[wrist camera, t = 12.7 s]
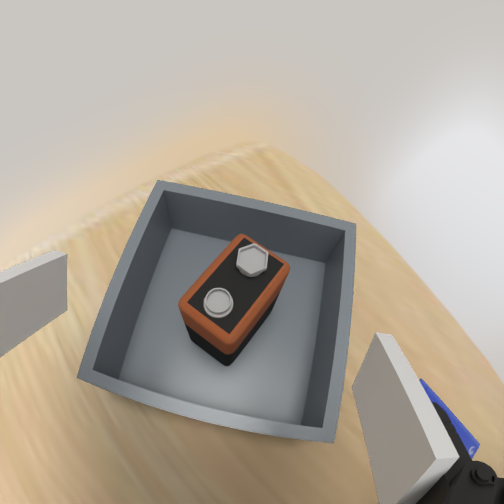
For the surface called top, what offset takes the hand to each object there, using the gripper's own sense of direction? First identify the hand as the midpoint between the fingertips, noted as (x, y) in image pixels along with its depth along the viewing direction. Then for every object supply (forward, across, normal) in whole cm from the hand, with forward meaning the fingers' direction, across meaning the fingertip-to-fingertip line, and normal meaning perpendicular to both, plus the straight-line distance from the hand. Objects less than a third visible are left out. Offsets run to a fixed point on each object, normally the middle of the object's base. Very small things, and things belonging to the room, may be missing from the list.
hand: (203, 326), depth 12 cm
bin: (+15, 0, -8) cm, 17 cm away
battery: (+14, 0, -7) cm, 16 cm away
